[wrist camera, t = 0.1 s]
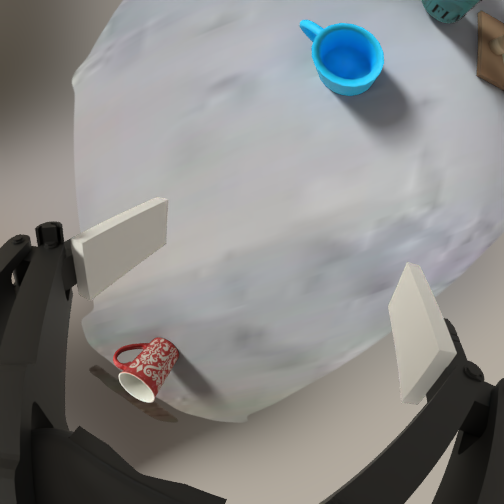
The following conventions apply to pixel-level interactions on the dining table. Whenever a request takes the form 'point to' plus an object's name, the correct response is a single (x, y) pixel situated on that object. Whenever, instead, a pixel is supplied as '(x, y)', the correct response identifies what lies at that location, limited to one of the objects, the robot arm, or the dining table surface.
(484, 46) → the wooden board with pegs
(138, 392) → the mug
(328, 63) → the mug
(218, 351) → the dining table surface
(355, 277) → the dining table surface
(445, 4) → the beverage bottle
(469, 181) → the dining table surface
